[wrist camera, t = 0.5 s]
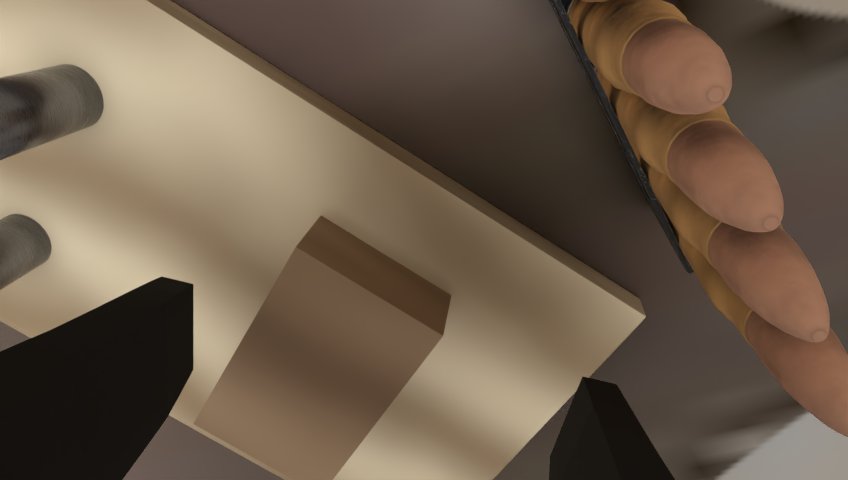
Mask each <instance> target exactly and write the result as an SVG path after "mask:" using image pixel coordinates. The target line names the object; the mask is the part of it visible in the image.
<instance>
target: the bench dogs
mask: <svg viewBox="0 0 848 480" xmlns="http://www.w3.org/2000/svg"><path fill="white" fill-rule="evenodd" d="M103 108H104V101H103V96H102V92H101V90H100V88H99V86H98V84H97V82H96V81H95V80H94V78H93V77H92V76H91V75H90V74H89V73H87V72H86V71H85V70H83V69H82V68H80V67H77V66H75V65H71V64H61V65H56V66H51V67H47V68H42V69H38V70H33V71H28V72H24V73H19V74H14V75H10V76H5V77H0V160H2V159H5V158H8V157H10V156H13V155H16V154H18V153H21V152H24V151H26V150H29V149H32V148H34V147H37V146H40V145H42V144H45V143H48V142H50V141H53V140H56V139H58V138H61V137H64V136H66V135H69V134H72V133H74V132H77V131H80V130H82V129H85V128H88V127H90V126H92V125H94V124H95V123H97V122H98V120H99V119H100V118H101V115H102V113H103ZM50 255H51V242H50V238H49V236H48V234H47V232H46V231H45V230H44V228H43V227H42V226H41V225H40V224H39V223H38V222H36V221H35V220H34V219H32V218H30V217H28V216H25V215H22V214H11V215H8V216H6V217H4V218H2V219H0V290H2V289H3V288H5V287H6V286H8V285H10V284H11V283H13V282H14V281H16V280H18V279H19V278H21V277H22V276H24V275H26V274H27V273H29V272H30V271H32V270H33V269H35V268H37V267H38V266H40V265H41V264H43V263H45V262H46V261H47V260H48V259H49V257H50Z"/></svg>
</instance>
